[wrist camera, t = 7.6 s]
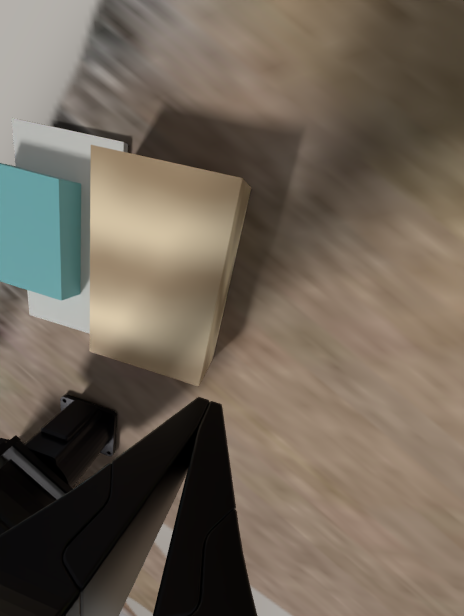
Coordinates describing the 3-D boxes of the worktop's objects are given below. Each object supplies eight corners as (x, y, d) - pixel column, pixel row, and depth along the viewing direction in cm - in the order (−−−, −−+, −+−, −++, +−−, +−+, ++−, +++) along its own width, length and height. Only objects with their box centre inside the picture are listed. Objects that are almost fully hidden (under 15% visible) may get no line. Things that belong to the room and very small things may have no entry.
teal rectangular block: (-3, 280, 20) (21, 275, 22) (61, 300, 20) (80, 293, 22) (-18, 159, 17) (12, 165, 19) (58, 179, 17) (81, 183, 18)
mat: (117, 338, 23) (114, 341, 23) (34, 312, 24) (29, 314, 24) (128, 144, 17) (123, 142, 17) (18, 120, 18) (11, 117, 18)
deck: (213, 358, 22) (198, 386, 18) (121, 330, 23) (89, 351, 19) (251, 188, 17) (242, 178, 13) (130, 160, 18) (90, 144, 14)
